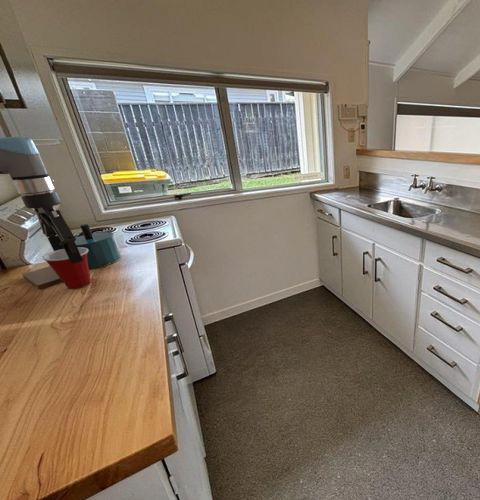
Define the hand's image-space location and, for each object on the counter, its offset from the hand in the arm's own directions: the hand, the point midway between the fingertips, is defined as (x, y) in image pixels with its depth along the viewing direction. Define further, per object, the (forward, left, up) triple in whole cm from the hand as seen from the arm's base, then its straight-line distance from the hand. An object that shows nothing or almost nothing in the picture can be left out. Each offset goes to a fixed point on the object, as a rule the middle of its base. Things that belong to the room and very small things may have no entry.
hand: (69, 258), depth 92 cm
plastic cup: (0, 0, -10) cm, 10 cm away
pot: (-7, +20, -10) cm, 23 cm away
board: (-15, +9, -10) cm, 20 cm away
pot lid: (-7, +20, 0) cm, 21 cm away
